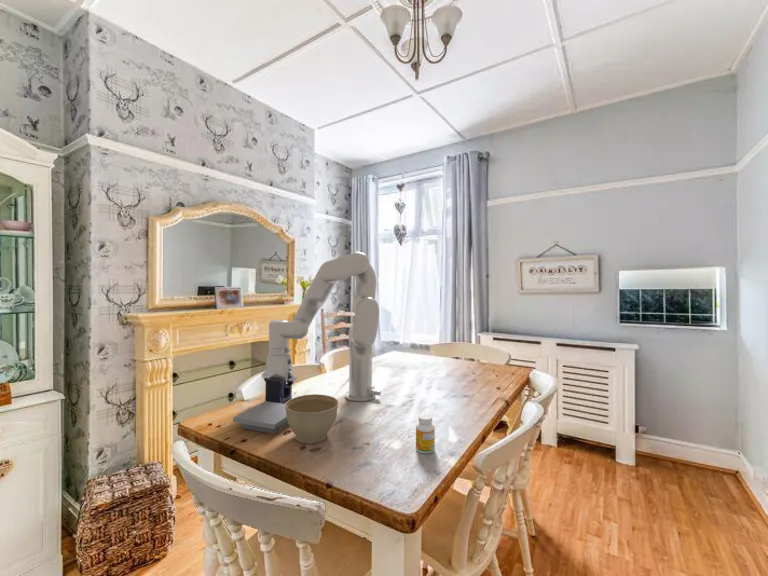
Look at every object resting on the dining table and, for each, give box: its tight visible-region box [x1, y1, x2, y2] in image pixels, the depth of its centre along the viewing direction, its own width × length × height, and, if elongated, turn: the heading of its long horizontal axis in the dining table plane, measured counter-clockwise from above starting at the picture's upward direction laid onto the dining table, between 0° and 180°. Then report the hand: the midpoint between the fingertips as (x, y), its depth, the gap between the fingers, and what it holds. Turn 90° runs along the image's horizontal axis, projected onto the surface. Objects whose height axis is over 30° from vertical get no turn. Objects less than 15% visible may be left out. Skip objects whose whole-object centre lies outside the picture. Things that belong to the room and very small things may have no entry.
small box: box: [264, 377, 293, 404], centre depth 137 cm, size 11×6×10 cm, turn 168°
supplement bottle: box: [415, 413, 436, 454], centre depth 100 cm, size 5×5×10 cm
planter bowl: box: [284, 393, 339, 444], centre depth 107 cm, size 16×16×11 cm
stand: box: [232, 400, 289, 434], centre depth 117 cm, size 16×16×4 cm
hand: (279, 395), depth 137 cm, fingers closed on small box, 6 cm apart
